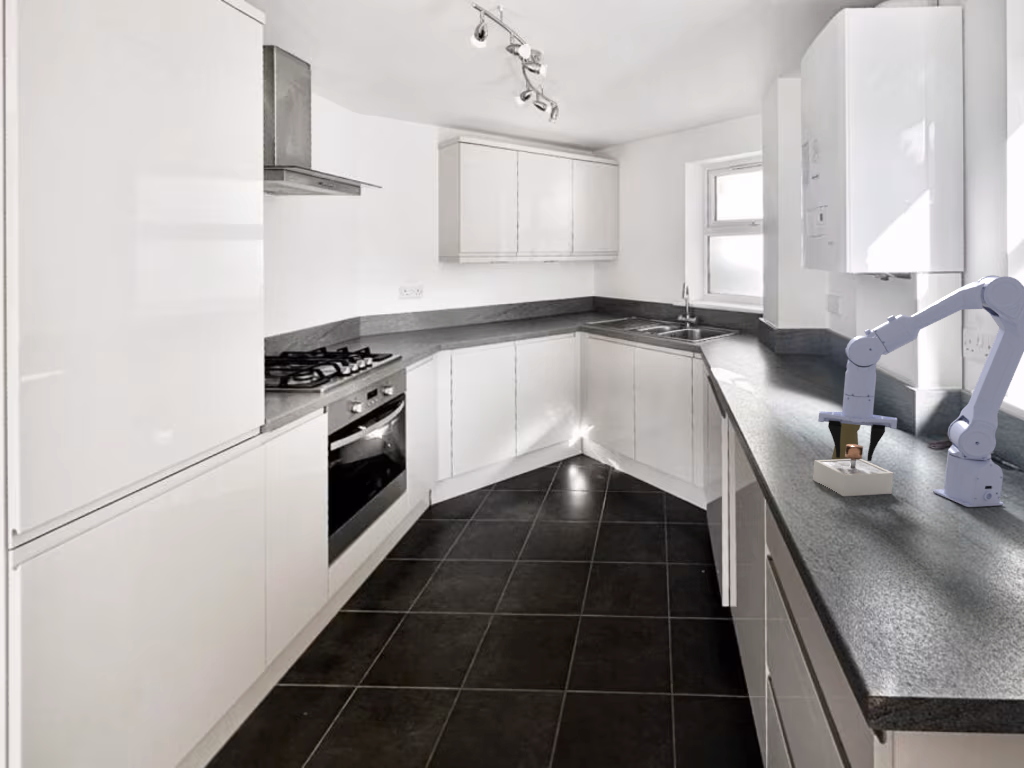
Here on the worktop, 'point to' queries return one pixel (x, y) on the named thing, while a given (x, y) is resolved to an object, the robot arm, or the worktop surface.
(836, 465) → the copper knob lid
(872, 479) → the white shallow open box
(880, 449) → the worktop surface
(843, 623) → the worktop surface
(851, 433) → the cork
